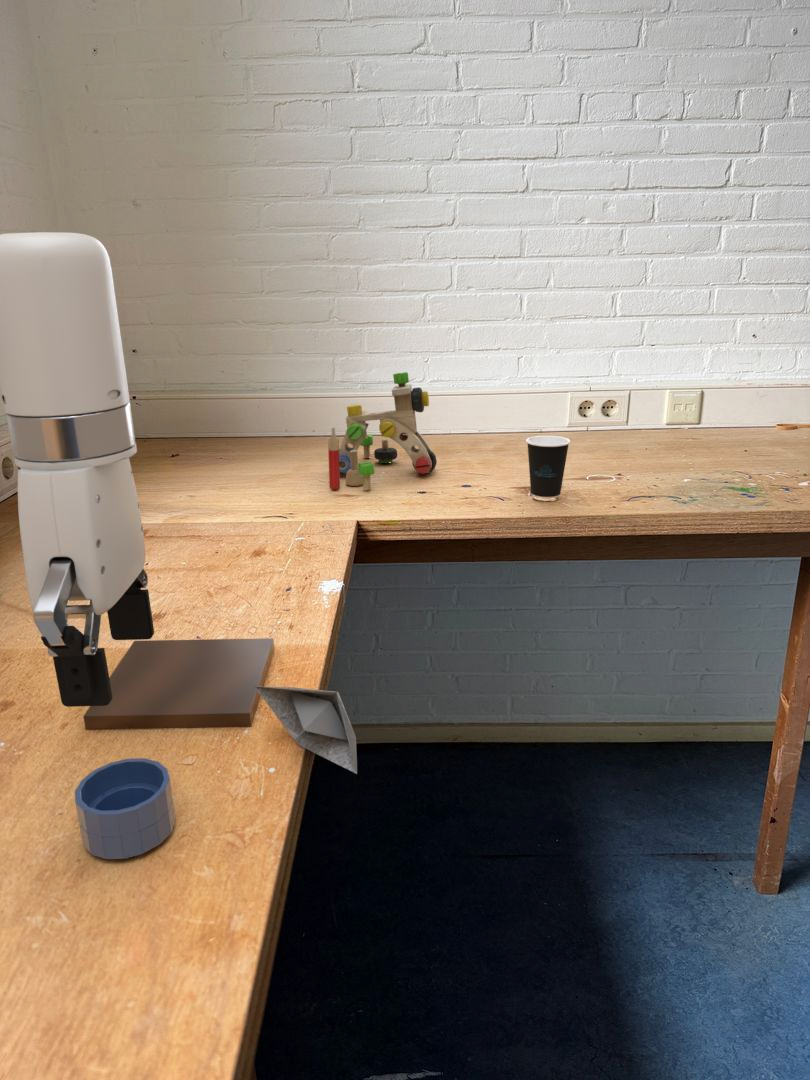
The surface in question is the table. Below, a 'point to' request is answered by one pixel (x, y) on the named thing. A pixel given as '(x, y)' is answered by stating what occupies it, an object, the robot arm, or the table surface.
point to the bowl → (125, 808)
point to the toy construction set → (390, 426)
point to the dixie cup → (547, 465)
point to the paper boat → (315, 722)
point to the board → (185, 684)
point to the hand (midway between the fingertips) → (112, 668)
